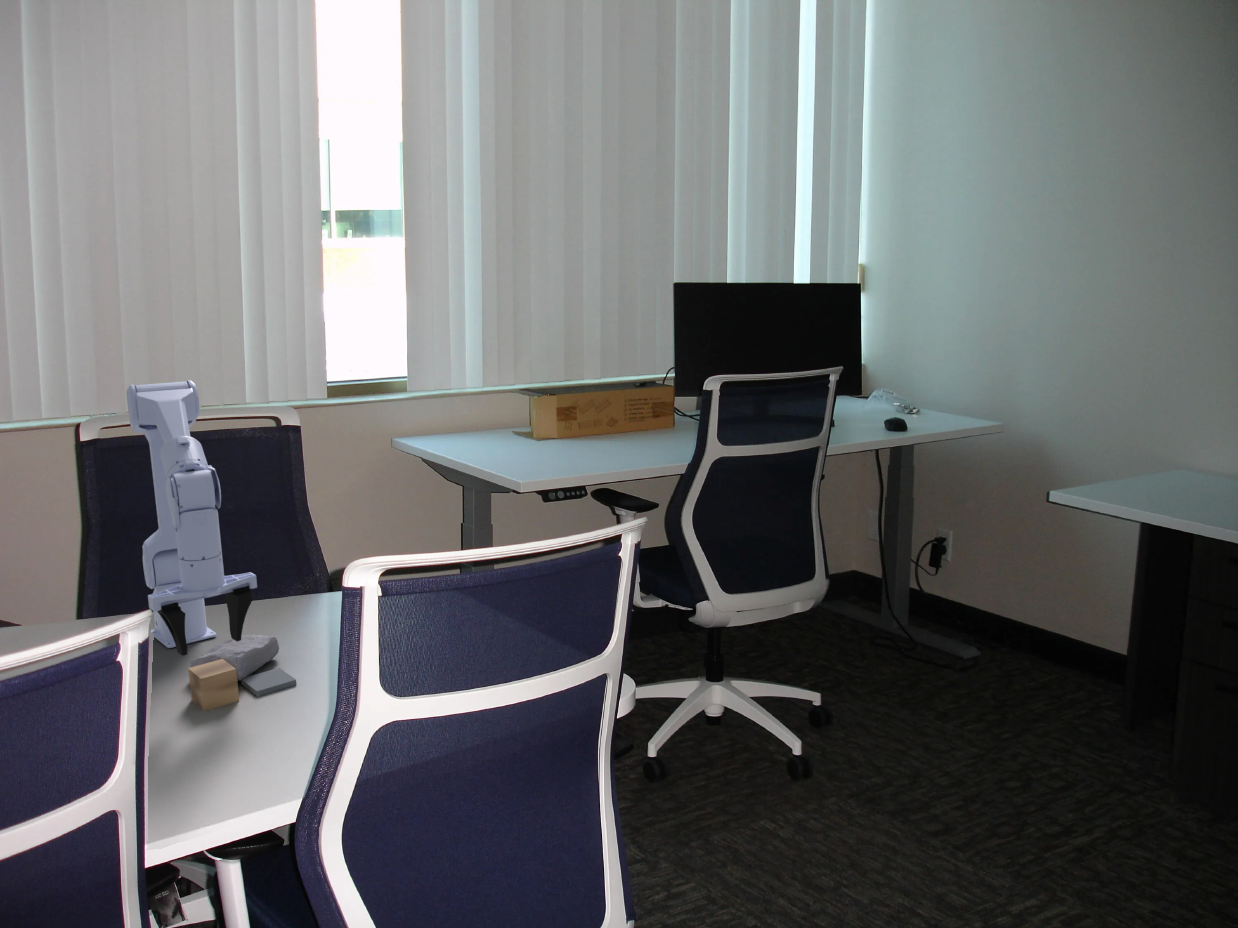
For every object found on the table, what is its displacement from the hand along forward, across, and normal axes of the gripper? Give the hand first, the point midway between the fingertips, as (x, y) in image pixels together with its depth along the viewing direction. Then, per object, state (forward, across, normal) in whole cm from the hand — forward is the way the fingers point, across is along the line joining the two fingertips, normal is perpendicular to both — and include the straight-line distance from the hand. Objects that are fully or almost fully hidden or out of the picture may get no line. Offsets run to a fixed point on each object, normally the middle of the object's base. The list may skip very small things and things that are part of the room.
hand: (209, 646), depth 150 cm
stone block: (+8, +6, +9) cm, 14 cm away
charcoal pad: (+8, +8, 0) cm, 12 cm away
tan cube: (+8, 0, 0) cm, 8 cm away
